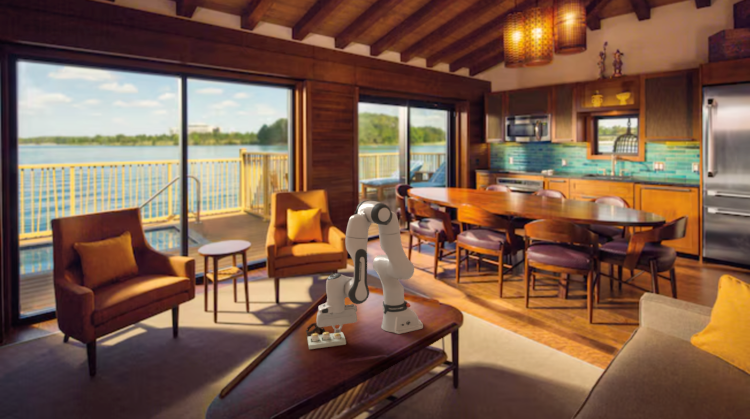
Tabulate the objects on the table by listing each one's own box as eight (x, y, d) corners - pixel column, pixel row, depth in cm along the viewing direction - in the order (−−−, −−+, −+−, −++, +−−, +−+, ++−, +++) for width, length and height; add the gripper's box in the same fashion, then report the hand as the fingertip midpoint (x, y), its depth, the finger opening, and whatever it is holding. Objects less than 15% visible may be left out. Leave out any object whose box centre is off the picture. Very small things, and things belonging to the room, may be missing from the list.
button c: (318, 338, 209) (318, 332, 209) (319, 341, 206) (319, 335, 206) (311, 339, 209) (310, 333, 208) (311, 342, 205) (311, 336, 205)
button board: (342, 337, 216) (342, 332, 215) (346, 346, 206) (345, 340, 206) (307, 342, 212) (307, 336, 211) (309, 351, 202) (308, 345, 202)
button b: (329, 337, 211) (329, 331, 210) (330, 340, 207) (330, 334, 207) (322, 338, 210) (322, 332, 209) (323, 341, 206) (322, 335, 206)
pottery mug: (326, 341, 214) (317, 329, 211) (311, 347, 216) (302, 336, 213) (329, 325, 225) (321, 314, 222) (314, 332, 227) (306, 321, 224)
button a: (340, 338, 212) (340, 332, 212) (341, 341, 209) (341, 335, 208) (333, 339, 211) (333, 333, 211) (334, 342, 208) (334, 336, 207)
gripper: (355, 301, 213) (356, 327, 215) (315, 306, 209) (317, 332, 211) (357, 305, 207) (359, 332, 209) (316, 311, 203) (318, 338, 205)
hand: (337, 332), depth 210 cm, fingers closed
